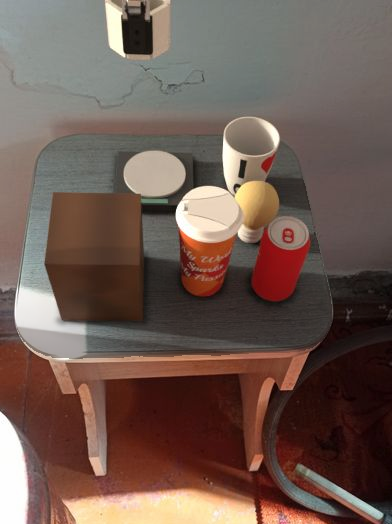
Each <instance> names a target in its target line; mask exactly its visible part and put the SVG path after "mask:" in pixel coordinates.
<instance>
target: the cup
mask: <svg viewBox="0 0 392 524" xmlns="http://www.w3.org/2000/svg"><path fill="white" fill-rule="evenodd" d="M222 141H223V143H222V144H223V145H222V165H223V176H224V180H225V183H226V187H227V191H228V192H229V193H230V194H231V195H232V196H233V197H235V195H236V193H237V191H238V189H239V188H240V187H241V186H242V185H243V184H245V183H247V182H250V181H263V182H266V180H267V178H268V175H269V173H270V171H271V169H272V167H273V164H274V161H275V159H276V158H275V157H276V155H277V151H278V149H279V146H280V141H281V137H280V132H279V131H278V129H277V128H276V127H275V126H274V125H273V124H272V123H271V122H269V121H268V120H266V119H263V118H260V117H256V116H242V117H238V118H235V119H233V120H231V121H230V122H229V123H228V124H227V125H226V126H225V128H224V131H223V140H222Z"/></svg>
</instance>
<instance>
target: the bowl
mask: <svg viewBox="0 0 392 524" xmlns="http://www.w3.org/2000/svg"><path fill="white" fill-rule="evenodd" d="M141 2H144V0H141ZM104 6H105V17H106V28H107V39H108V46H109V48H110V49H111V50H113V51H114V52H116V54H118V55H120V56H121V57H123V59H128V60H138V61H139V60H144V61H146V60H147V61H151V59H152V60H154V59H156V58H158V57H159V56H161V55H162V54H164V53H166V52H168V51H169V49H170V47H171V0H150V16H153V53H152V54H151V55H134V54H125V53H124V52H123V41H122V26H121V15H122V0H104ZM144 6H145V5H144Z"/></svg>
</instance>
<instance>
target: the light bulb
mask: <svg viewBox="0 0 392 524" xmlns="http://www.w3.org/2000/svg"><path fill="white" fill-rule="evenodd" d="M234 198H235V199H236V201H237V202H238V204H239V206H240V207H241V209H242V210H243V214H244V222H243V224H242V226H241V227H240V229H239V231H238V232H237V236H238V238H239V239H240V240H241V241H242V242H244V243H247V244H255V243H258V242H259V241H261V238H262V234H263V232H264V230H265V226H268V225H270V223H271V222H272V221H273V220H274V219H276V216H277V214H278V212H279V209H280V200H279V195H278V193H277V191H276V189H275V187H274V186H273V185H272V184H271V183H269V182H266V181H265V182H263V181H250V182H247V183H245V184H243V185H242V186H241V187H240V188H239V189H238V191H237V193H236V195H235V196H234Z"/></svg>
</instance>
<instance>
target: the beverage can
mask: <svg viewBox="0 0 392 524" xmlns="http://www.w3.org/2000/svg"><path fill="white" fill-rule="evenodd" d="M310 246H311V238H310V232H309V229H308V227H307V225H306V224H305V223H304V221H302V220H300V219H299V218H296V217H294V216H291V215H289V216H288V215H284V216H279V217H275V218H274V219H273V220H272V221H271V222H270V223H269V224H267V225H266V227H265V228H264V230H263V234H262V237H261V239H260V243H259V247H258V250H257V256H256V260H255V263H254V268H253V272H252V277H251V287H252V288H253V290H254V292H255V293H256V294H257V295H258V296H259V297H261V299H264V300H266V301H270V302H280V301H284V300H286V299H287V298H289V297H290V296H292V295H293V293H294V291H295V288H296V286H297V282H298V280H299V277H300V274H301V272H302V270H303V266H304V263H305V261H306V257H307V255H308V253H309V250H310Z"/></svg>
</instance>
